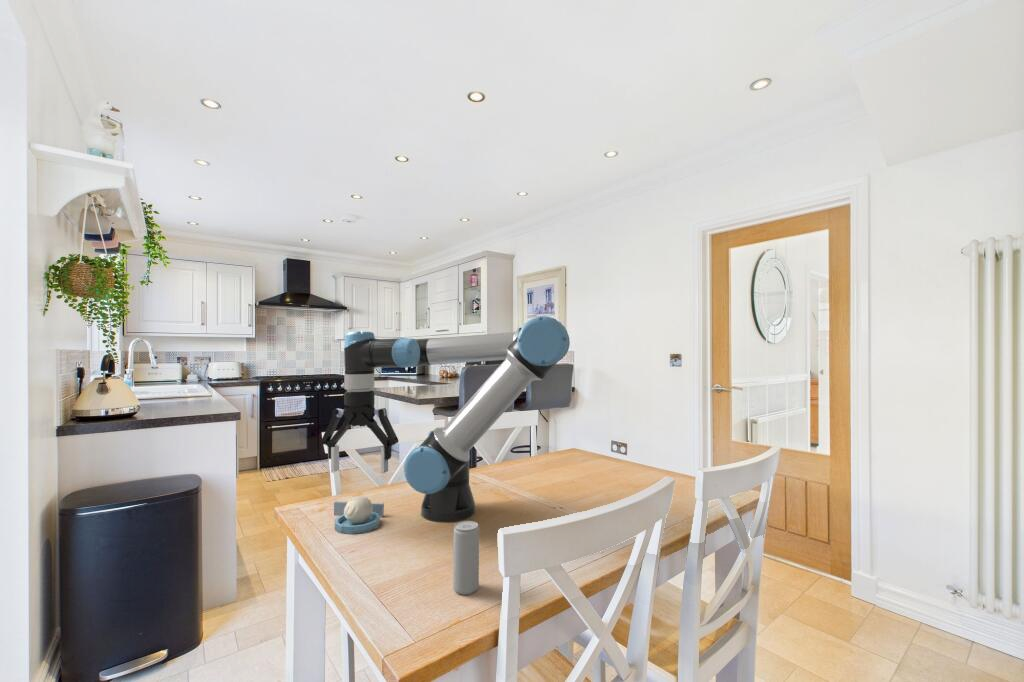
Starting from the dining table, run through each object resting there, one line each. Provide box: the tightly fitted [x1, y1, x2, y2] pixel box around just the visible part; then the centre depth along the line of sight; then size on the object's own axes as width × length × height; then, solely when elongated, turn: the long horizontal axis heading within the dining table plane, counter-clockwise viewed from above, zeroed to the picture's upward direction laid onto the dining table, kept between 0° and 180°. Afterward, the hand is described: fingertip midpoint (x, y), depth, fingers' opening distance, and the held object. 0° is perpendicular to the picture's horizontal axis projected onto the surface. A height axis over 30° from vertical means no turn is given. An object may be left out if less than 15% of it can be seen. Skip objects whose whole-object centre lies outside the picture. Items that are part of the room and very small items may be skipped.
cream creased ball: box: [344, 495, 373, 524], centre depth 115 cm, size 7×7×7 cm
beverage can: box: [452, 520, 480, 596], centre depth 84 cm, size 5×5×12 cm
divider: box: [333, 500, 385, 518], centre depth 123 cm, size 14×1×4 cm, turn 83°
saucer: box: [334, 512, 381, 535], centre depth 115 cm, size 11×11×2 cm
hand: (359, 471), depth 116 cm, fingers open, 13 cm apart
